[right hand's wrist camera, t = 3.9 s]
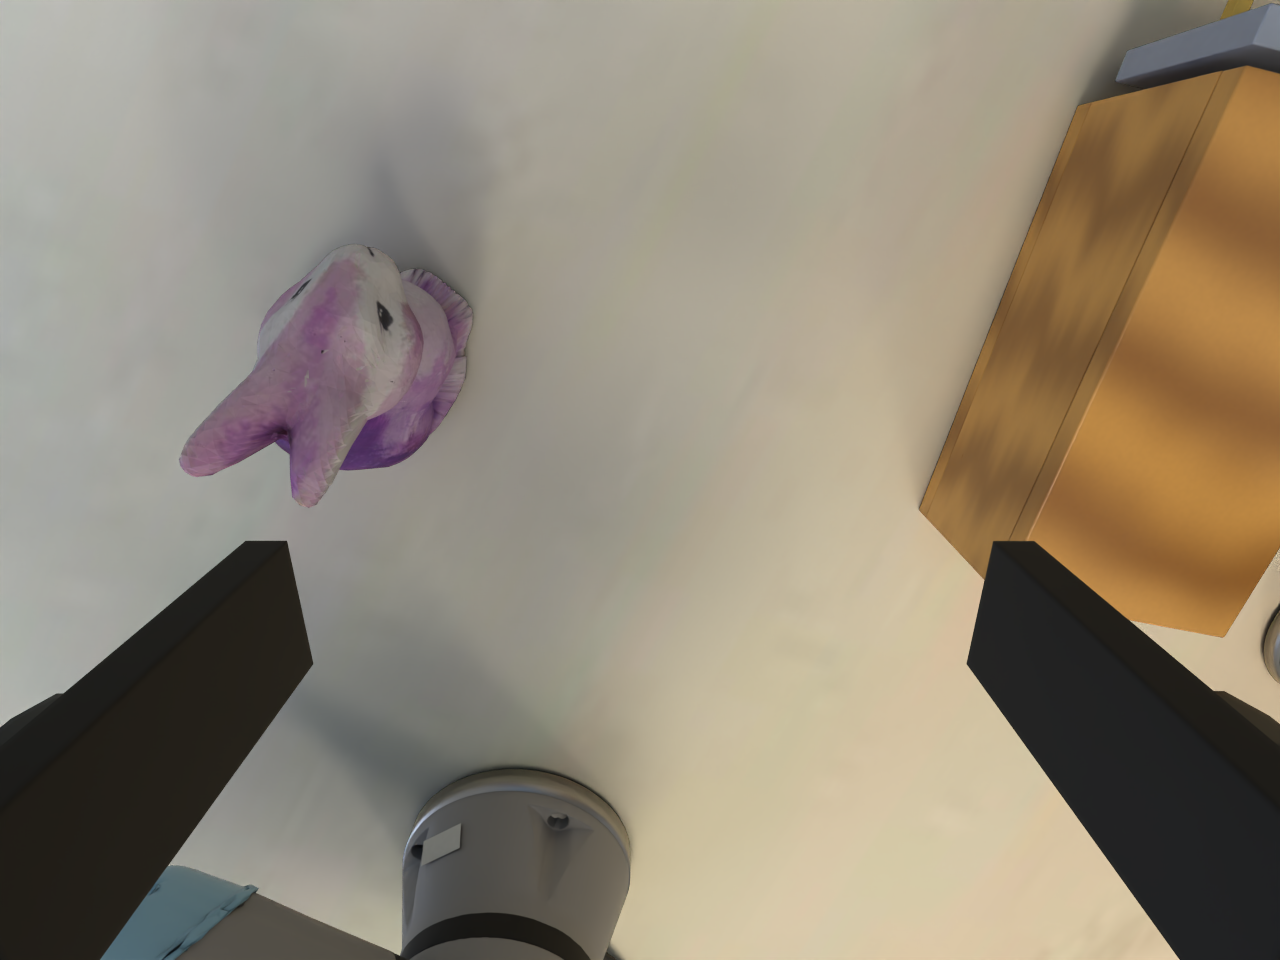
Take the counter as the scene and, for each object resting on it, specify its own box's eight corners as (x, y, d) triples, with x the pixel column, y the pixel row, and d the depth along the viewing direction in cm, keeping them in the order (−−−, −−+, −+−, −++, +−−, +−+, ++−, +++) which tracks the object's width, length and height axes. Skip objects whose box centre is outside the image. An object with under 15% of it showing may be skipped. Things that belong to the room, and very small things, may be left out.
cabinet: (1077, 104, 30) (1247, 63, 22) (1291, 158, 31) (1535, 138, 23) (918, 509, 38) (999, 596, 29) (1095, 544, 39) (1224, 638, 30)
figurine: (468, 232, 32) (338, 249, 18) (497, 436, 36) (408, 579, 22) (272, 244, 32) (-4, 270, 19) (322, 446, 36) (123, 594, 22)
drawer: (1191, -110, 27) (1372, -216, 20) (1405, -51, 28) (1647, -134, 21) (959, 461, 36) (1032, 518, 29) (1125, 495, 36) (1233, 558, 30)
